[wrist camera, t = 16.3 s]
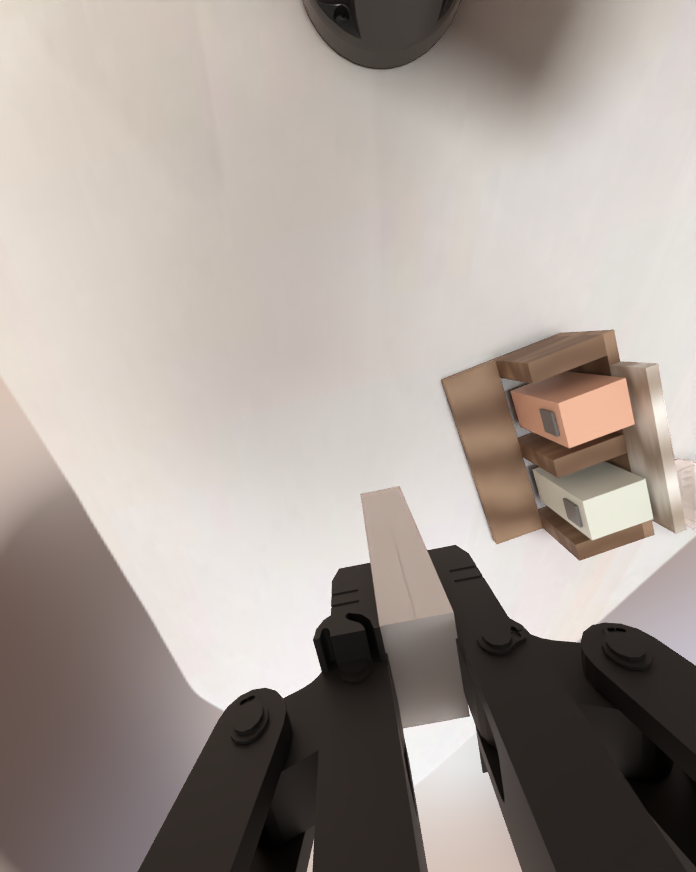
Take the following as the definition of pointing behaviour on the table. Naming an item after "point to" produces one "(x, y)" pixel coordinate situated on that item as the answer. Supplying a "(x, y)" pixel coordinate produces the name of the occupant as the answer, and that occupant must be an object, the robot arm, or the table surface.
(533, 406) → the peach rectangular block
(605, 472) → the cream rectangular block
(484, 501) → the wooden rack
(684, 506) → the white cup
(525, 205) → the table surface
